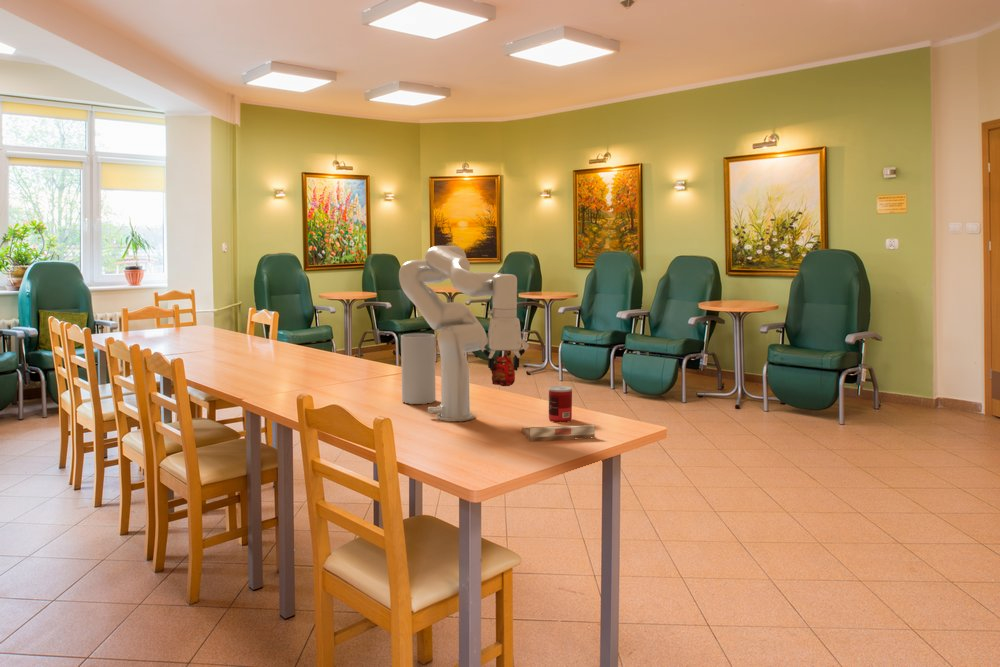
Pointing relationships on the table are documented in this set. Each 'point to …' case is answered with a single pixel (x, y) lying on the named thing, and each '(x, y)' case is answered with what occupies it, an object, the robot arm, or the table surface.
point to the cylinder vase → (418, 368)
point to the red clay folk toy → (503, 371)
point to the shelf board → (559, 432)
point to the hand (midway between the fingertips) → (503, 369)
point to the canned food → (560, 403)
